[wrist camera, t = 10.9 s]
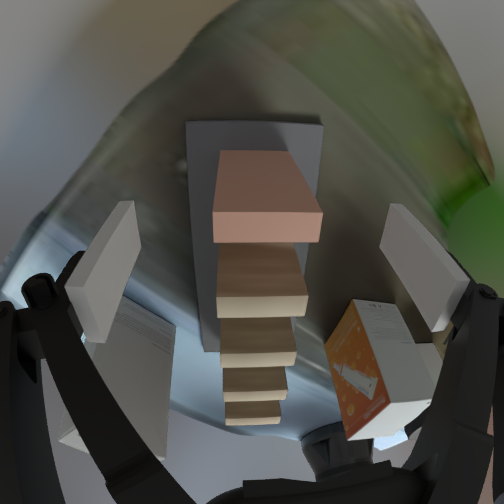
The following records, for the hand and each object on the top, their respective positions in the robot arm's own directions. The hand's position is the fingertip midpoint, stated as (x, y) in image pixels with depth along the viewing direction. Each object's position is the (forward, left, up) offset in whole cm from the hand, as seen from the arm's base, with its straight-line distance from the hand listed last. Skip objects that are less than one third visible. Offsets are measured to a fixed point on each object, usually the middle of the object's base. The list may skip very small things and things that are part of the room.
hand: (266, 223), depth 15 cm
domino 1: (0, 0, -9) cm, 9 cm away
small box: (-19, -13, -10) cm, 25 cm away
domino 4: (-15, 0, -9) cm, 17 cm away
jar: (-28, -24, -10) cm, 38 cm away
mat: (-9, 0, -10) cm, 13 cm away
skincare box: (-18, +13, -10) cm, 24 cm away
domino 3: (-10, 0, -9) cm, 13 cm away
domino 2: (-5, 0, -9) cm, 10 cm away
